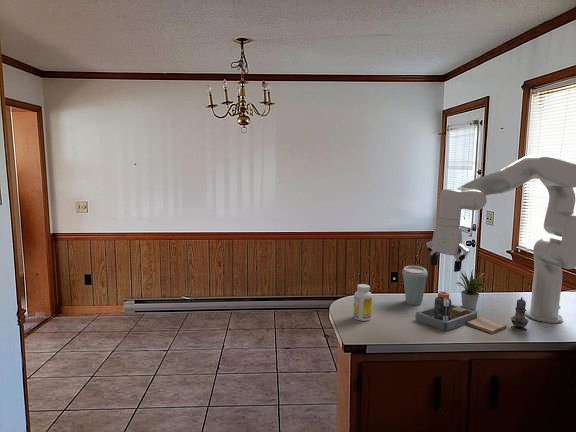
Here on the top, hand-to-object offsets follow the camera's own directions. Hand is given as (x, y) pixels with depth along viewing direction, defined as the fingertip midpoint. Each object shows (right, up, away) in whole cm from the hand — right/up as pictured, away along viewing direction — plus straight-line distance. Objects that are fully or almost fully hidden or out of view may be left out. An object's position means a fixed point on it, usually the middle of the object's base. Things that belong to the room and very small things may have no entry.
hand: (445, 268), depth 159 cm
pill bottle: (0, -21, +3) cm, 21 cm away
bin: (+2, -20, +4) cm, 21 cm away
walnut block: (+7, -20, +6) cm, 22 cm away
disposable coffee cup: (-5, -18, +24) cm, 30 cm away
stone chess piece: (+26, -22, -3) cm, 34 cm away
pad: (+15, -21, -1) cm, 26 cm away
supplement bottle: (-30, -20, +4) cm, 36 cm away
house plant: (+16, -19, +19) cm, 31 cm away
